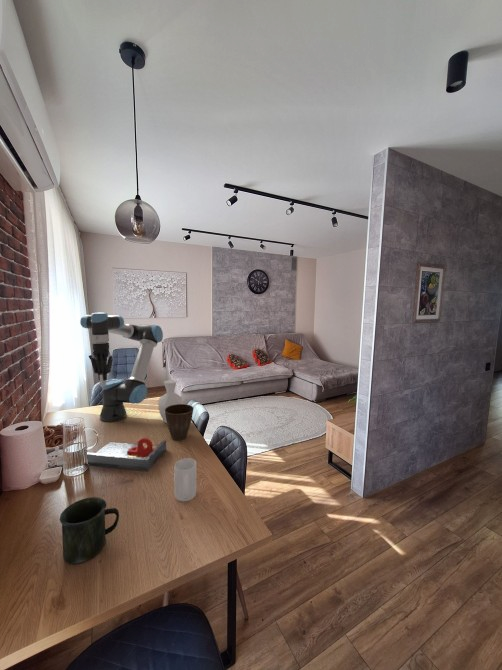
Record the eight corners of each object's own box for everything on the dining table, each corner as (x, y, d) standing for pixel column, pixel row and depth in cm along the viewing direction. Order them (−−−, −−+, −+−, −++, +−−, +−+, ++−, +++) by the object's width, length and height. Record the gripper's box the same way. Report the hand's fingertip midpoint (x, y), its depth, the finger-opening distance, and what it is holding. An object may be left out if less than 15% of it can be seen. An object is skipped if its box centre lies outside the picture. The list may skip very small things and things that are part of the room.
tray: (110, 444, 137) (109, 435, 136) (166, 450, 133) (166, 440, 132) (83, 464, 119) (83, 453, 119) (147, 471, 115) (147, 460, 115)
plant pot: (191, 429, 156) (191, 403, 155) (194, 441, 142) (195, 412, 140) (164, 433, 151) (164, 405, 150) (165, 445, 137) (165, 415, 136)
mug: (65, 541, 80) (63, 503, 79) (119, 525, 86) (119, 489, 85) (57, 573, 70) (55, 530, 69) (119, 552, 76) (118, 513, 75)
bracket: (156, 451, 129) (155, 435, 128) (151, 456, 124) (151, 439, 124) (132, 448, 131) (132, 433, 130) (127, 453, 126) (126, 437, 125)
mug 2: (173, 511, 92) (173, 478, 91) (173, 489, 104) (173, 459, 103) (198, 507, 95) (198, 474, 94) (195, 485, 106) (195, 456, 105)
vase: (172, 414, 178) (172, 377, 176) (187, 420, 170) (187, 381, 168) (153, 421, 166) (153, 381, 164) (168, 427, 158) (168, 386, 156)
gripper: (84, 343, 137) (86, 387, 140) (108, 343, 136) (110, 388, 139) (93, 341, 145) (96, 383, 147) (116, 341, 144) (118, 384, 146)
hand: (103, 386), depth 143 cm, fingers closed
